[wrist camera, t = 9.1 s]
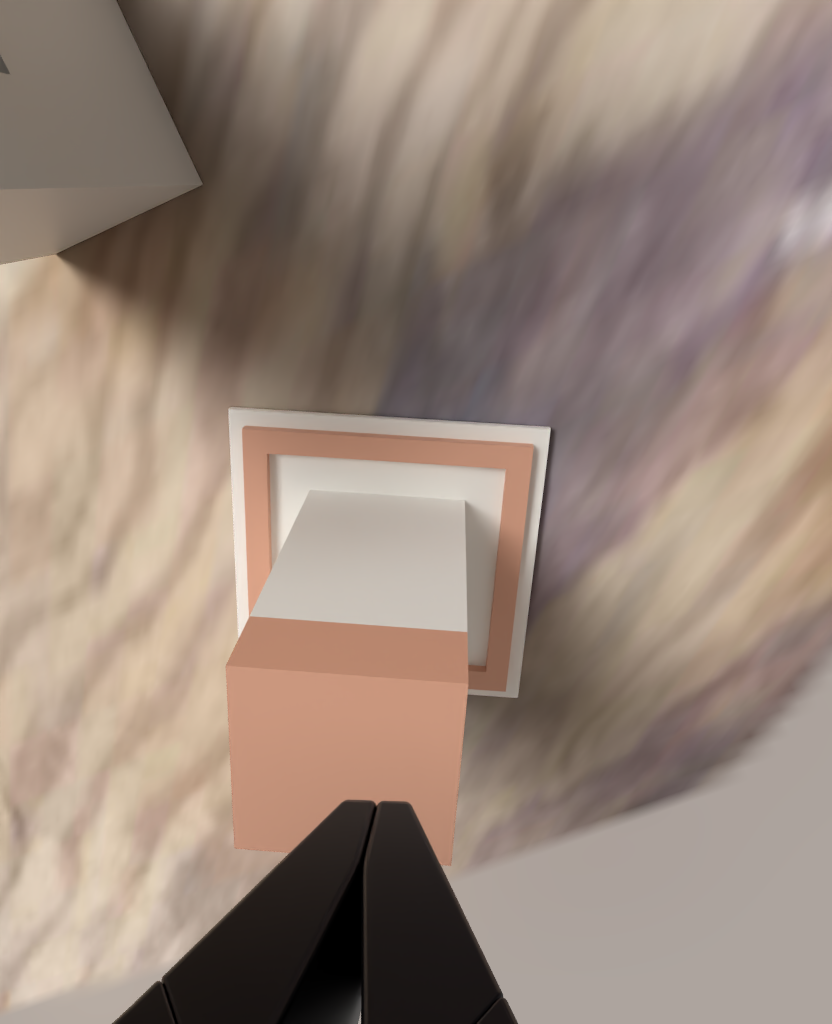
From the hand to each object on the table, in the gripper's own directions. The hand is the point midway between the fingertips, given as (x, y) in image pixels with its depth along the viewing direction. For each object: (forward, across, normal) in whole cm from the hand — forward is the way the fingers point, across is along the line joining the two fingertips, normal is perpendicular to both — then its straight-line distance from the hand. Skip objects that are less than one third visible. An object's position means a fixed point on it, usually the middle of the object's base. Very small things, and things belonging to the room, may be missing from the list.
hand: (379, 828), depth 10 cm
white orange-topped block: (+11, -1, -2) cm, 12 cm away
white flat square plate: (+12, -1, -2) cm, 12 cm away
